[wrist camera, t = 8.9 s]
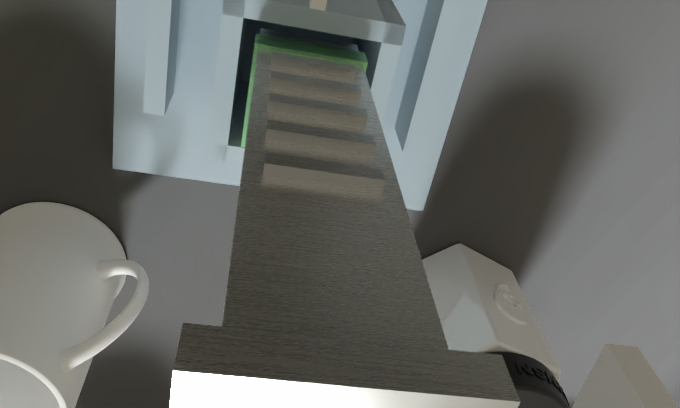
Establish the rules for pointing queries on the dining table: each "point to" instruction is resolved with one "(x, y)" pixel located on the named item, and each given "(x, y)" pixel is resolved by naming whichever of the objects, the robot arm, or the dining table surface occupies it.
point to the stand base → (235, 68)
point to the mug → (58, 301)
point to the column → (324, 260)
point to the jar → (494, 321)
